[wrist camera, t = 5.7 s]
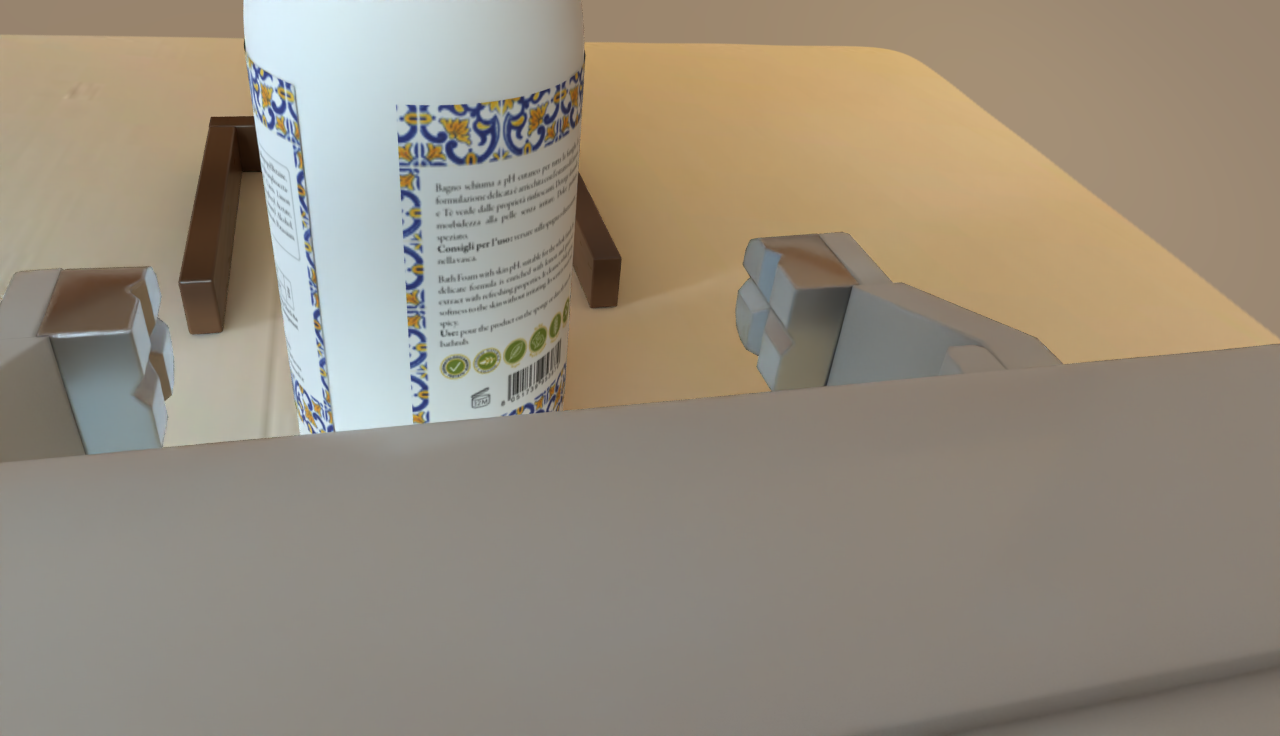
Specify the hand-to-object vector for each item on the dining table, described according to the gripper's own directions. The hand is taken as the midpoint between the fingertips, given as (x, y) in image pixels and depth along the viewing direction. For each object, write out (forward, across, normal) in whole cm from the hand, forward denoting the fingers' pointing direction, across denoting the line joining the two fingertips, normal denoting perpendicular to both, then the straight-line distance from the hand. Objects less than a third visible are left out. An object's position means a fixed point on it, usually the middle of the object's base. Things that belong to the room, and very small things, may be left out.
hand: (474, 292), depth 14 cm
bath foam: (+9, 0, +11) cm, 15 cm away
